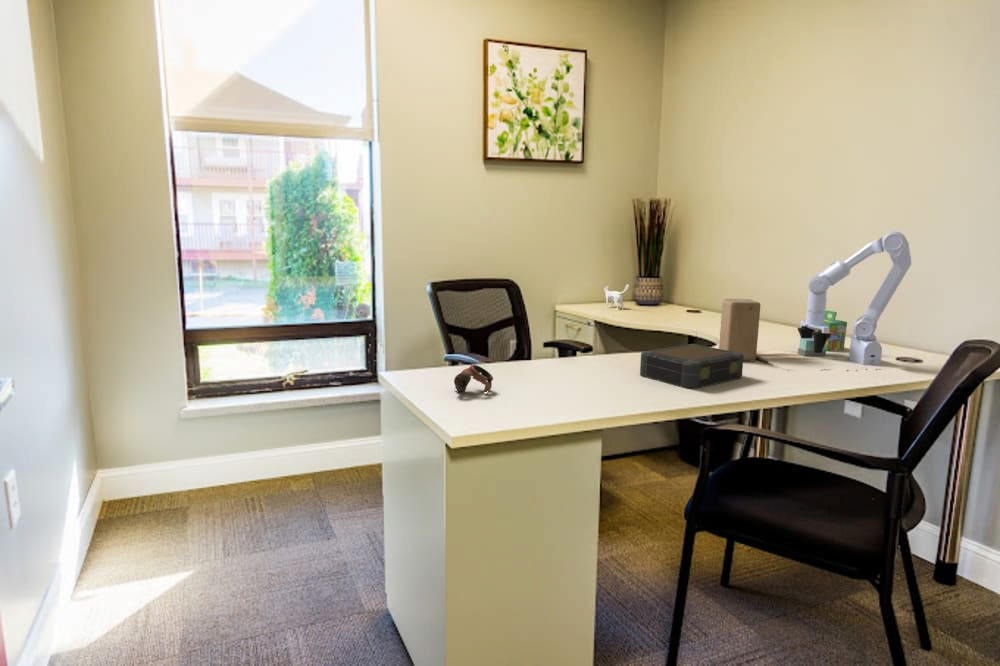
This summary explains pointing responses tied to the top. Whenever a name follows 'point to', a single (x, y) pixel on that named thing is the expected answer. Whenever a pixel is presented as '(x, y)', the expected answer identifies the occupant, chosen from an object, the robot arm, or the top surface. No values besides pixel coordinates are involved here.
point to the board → (787, 356)
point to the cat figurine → (614, 296)
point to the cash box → (691, 365)
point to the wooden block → (740, 327)
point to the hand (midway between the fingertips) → (811, 350)
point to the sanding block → (809, 348)
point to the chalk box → (835, 332)
